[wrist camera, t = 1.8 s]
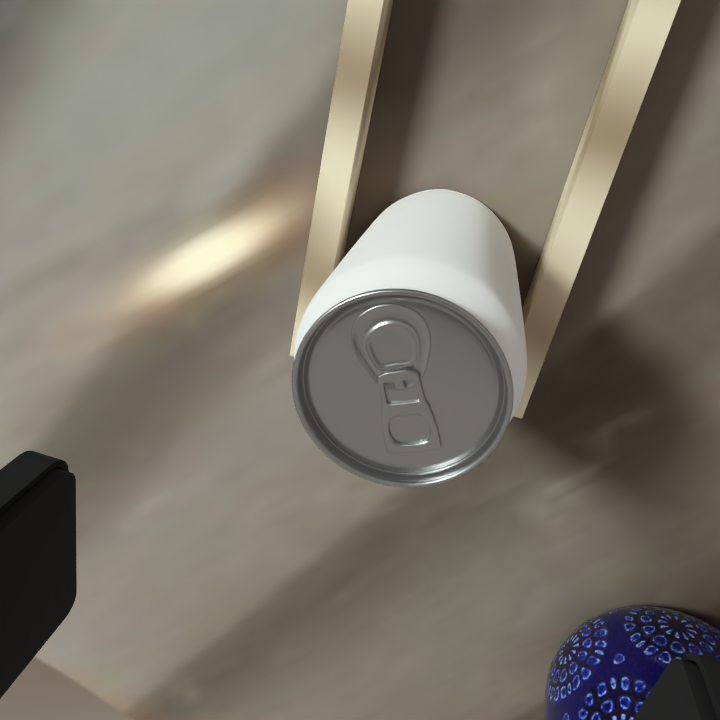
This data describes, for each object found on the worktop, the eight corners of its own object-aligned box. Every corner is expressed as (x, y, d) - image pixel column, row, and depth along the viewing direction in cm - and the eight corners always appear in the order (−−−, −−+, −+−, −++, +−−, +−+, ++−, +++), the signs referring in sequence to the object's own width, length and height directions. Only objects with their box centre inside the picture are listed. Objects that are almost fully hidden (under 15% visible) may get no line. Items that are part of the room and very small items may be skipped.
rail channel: (427, -389, 18) (406, -544, 13) (790, -332, 17) (896, -476, 13) (302, 337, 29) (267, 385, 24) (519, 396, 28) (525, 457, 23)
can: (504, 172, 24) (514, 249, 13) (523, 324, 26) (546, 493, 16) (347, 203, 26) (244, 294, 15) (379, 343, 28) (310, 508, 17)
